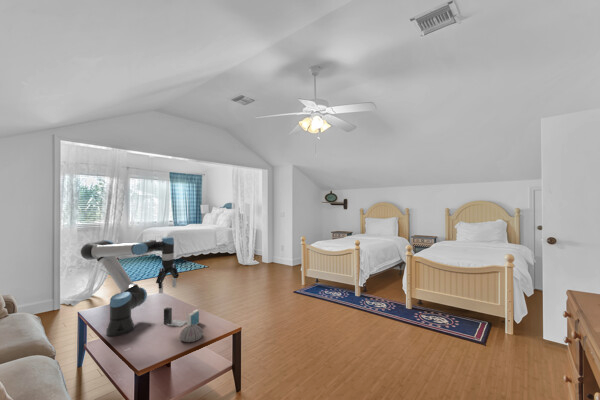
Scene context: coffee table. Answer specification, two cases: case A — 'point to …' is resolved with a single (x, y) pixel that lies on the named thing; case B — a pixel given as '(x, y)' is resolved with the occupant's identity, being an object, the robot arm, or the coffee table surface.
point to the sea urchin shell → (191, 333)
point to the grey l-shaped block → (169, 320)
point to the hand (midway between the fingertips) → (167, 290)
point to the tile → (193, 318)
